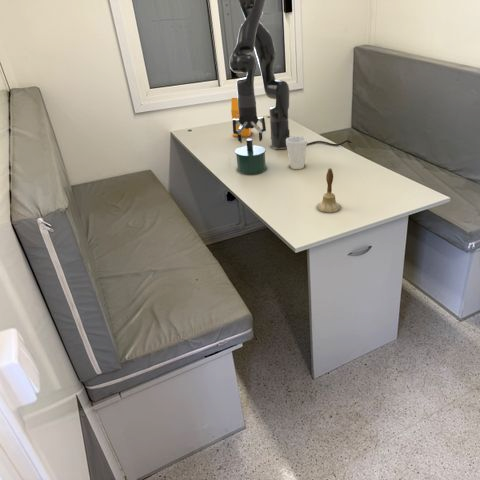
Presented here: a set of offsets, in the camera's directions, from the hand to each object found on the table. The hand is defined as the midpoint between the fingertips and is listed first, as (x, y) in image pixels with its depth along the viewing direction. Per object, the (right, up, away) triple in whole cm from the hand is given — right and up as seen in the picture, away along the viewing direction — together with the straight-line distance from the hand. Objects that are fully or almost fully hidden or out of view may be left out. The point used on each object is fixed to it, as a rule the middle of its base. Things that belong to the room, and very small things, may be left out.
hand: (250, 141), depth 192 cm
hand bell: (+34, -32, -27) cm, 54 cm away
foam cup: (+20, -10, +9) cm, 24 cm away
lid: (0, -4, +2) cm, 5 cm away
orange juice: (-12, +15, +50) cm, 54 cm away
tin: (0, -11, +6) cm, 13 cm away
